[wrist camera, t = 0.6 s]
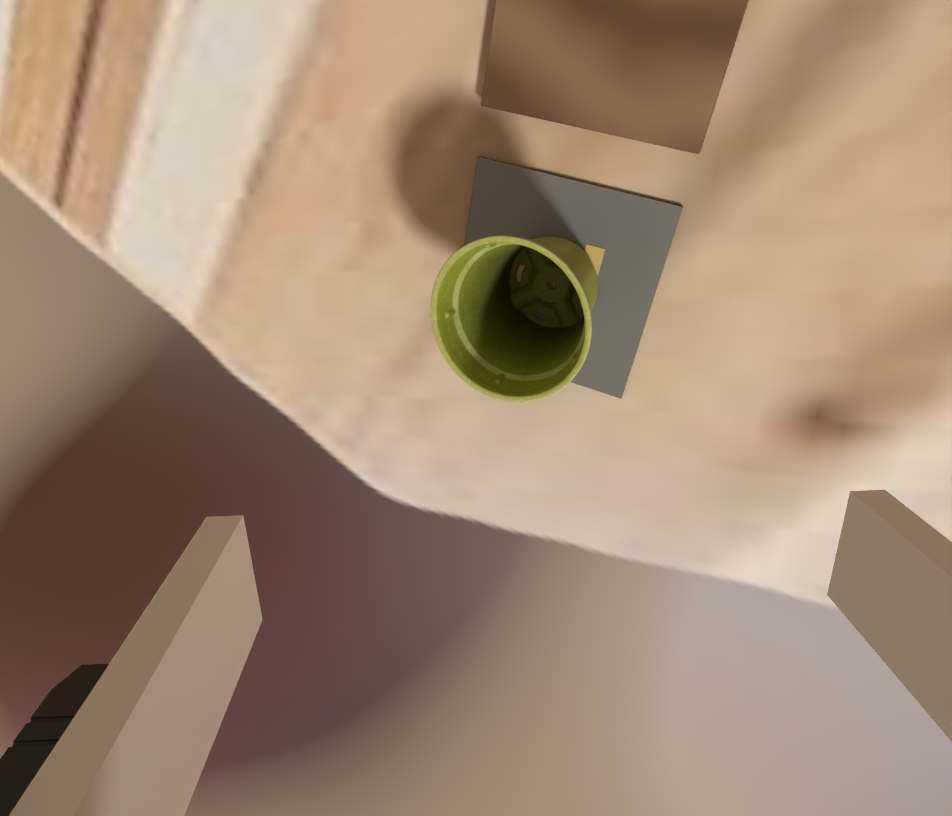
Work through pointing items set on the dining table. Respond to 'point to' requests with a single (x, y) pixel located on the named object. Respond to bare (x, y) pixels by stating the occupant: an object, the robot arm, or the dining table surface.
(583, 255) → the plant pot
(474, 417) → the dining table surface
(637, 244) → the slate mat
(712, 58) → the walnut board
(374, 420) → the dining table surface
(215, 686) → the robot arm
